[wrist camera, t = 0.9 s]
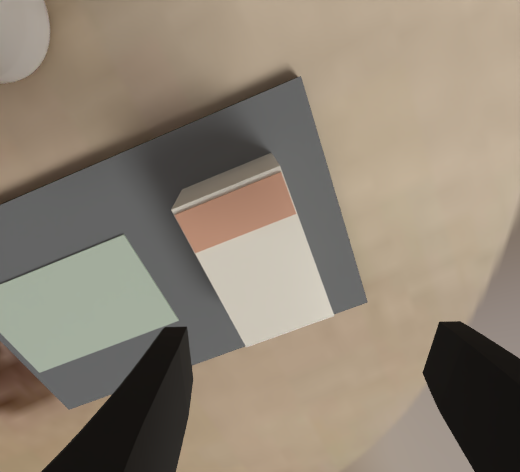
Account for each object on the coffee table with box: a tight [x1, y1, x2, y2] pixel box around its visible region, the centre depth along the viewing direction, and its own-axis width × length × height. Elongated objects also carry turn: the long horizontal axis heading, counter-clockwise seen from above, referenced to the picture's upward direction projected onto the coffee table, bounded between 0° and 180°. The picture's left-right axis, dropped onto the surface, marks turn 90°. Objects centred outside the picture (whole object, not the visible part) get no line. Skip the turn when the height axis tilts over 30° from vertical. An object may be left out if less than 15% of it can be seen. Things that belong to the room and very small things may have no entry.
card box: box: [171, 153, 334, 347], centre depth 16 cm, size 8×5×3 cm, turn 21°
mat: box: [0, 76, 367, 409], centre depth 19 cm, size 22×14×1 cm, turn 111°
